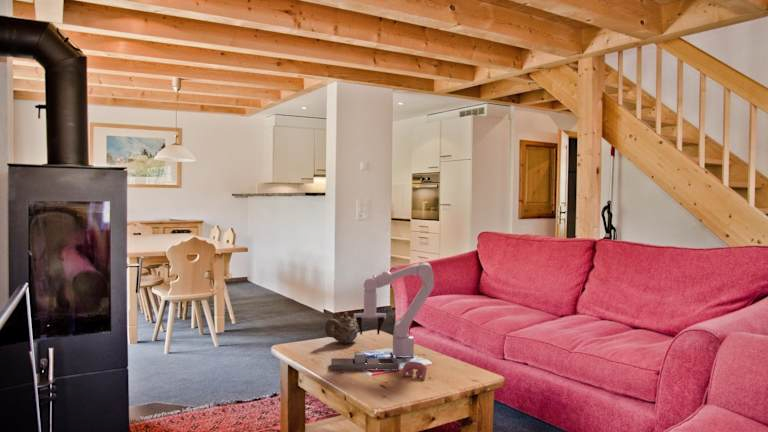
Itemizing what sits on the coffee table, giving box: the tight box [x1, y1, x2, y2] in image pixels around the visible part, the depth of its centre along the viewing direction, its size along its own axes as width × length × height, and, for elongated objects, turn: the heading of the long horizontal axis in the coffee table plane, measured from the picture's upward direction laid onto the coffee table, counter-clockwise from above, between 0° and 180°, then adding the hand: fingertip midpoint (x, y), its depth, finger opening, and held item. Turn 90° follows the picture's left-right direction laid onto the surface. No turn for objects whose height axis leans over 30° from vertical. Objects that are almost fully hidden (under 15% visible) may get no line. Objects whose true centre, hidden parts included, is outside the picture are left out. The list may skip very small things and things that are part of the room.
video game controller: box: [401, 361, 428, 381], centre depth 224 cm, size 10×5×7 cm, turn 72°
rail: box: [330, 357, 400, 372], centre depth 234 cm, size 28×8×2 cm, turn 95°
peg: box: [353, 351, 366, 364], centre depth 234 cm, size 4×4×6 cm
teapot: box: [324, 311, 363, 345], centre depth 268 cm, size 21×12×15 cm, turn 130°
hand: (369, 333), depth 251 cm, fingers open, 7 cm apart
